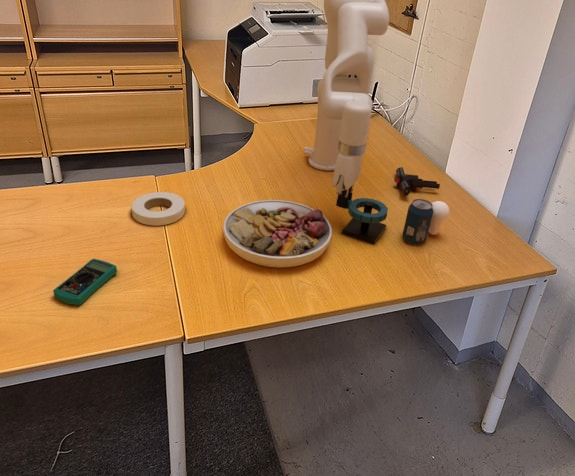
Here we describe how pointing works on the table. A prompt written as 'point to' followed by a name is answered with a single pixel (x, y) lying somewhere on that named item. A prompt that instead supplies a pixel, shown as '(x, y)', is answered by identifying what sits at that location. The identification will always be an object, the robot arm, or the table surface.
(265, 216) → the bowl
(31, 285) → the table surface
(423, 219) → the soda can
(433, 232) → the lightbulb
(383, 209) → the ring
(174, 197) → the tape roll
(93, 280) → the digital multimeter
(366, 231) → the ring stand
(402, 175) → the black plastic t-shaped piece
